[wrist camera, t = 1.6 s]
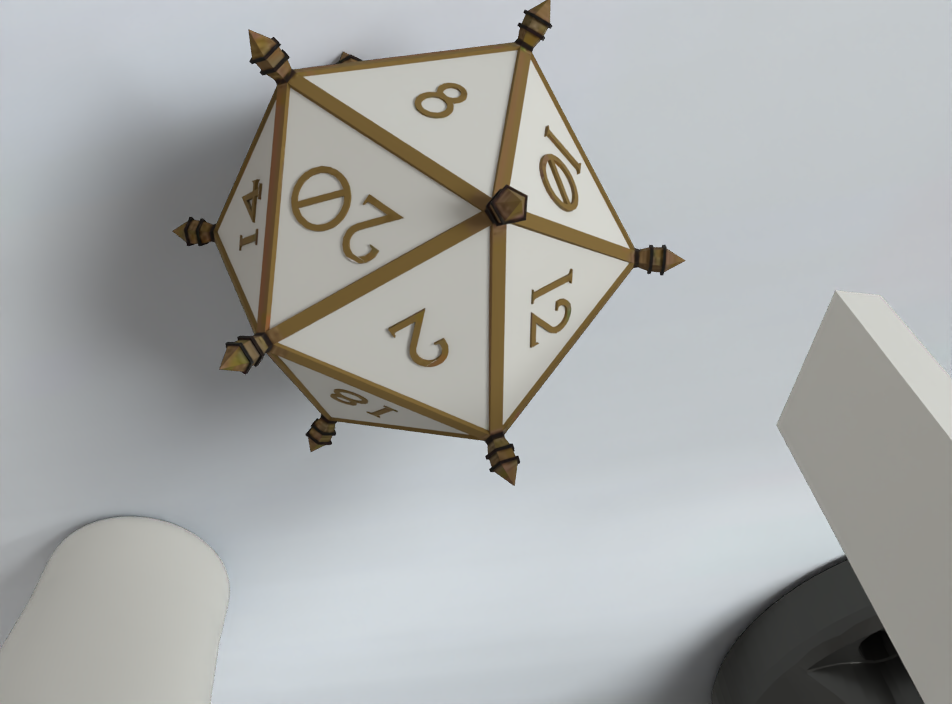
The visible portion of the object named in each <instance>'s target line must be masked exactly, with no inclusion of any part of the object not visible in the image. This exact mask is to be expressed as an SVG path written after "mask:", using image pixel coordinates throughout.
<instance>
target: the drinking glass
mask: <svg viewBox="0 0 952 704" xmlns="http://www.w3.org/2000/svg"><path fill="white" fill-rule="evenodd" d="M229 597H230V584H229V578H228V574H227V571H226V569H225V566H224V564H223V562H222V561H221V559H220V558H219V556H218V555H217V553H216V552H215V551H214V550H213V549H212V548H211V547H210V546H209V545H208V544H207V543H206V542H205V541H203V540H202V539H201V538H199V537H198V536H197V535H195V534H193V533H192V532H190V531H188V530H186V529H184V528H182V527H180V526H177V525H175V524H172V523H169V522H166V521H162V520H158V519H153V518H147V517H134V516H126V517H114V518H108V519H103V520H99V521H96V522H93V523H90V524H88V525H86V526H84V527H82V528H80V529H78V530H76V531H75V532H73V533H72V534H71V535H69V536H68V537H67V538H66V539H64V540H63V541H62V542H61V543H60V544H59V546H58V547H57V548H56V550H55V551H54V552H53V554H52V556H51V557H50V559H49V561H48V563H47V565H46V567H45V569H44V571H43V573H42V575H41V577H40V579H39V581H38V583H37V585H36V587H35V589H34V591H33V594H32V596H31V598H30V600H29V601H28V603H27V605H26V607H25V608H24V610H23V612H22V613H21V615H20V617H19V618H18V620H17V622H16V624H15V625H14V627H13V629H12V630H11V632H10V634H9V635H8V637H7V639H6V640H5V642H4V644H3V645H2V647H1V649H0V704H211V697H212V690H213V683H214V676H215V670H216V663H217V656H218V649H219V643H220V638H221V634H222V630H223V626H224V621H225V617H226V613H227V608H228V604H229Z"/></svg>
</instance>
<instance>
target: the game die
mask: <svg viewBox="0 0 952 704" xmlns="http://www.w3.org/2000/svg"><path fill="white" fill-rule="evenodd" d="M523 13H525V14H526V15H525V17H524V20H523V22H522V24H521V23H519V24H518V26H519V27H520V30H519V36H518V39H517V40H516V41H515V42H513V43H505V44H497V45H488V46H480V47H472V48H464V49H456V50H448V51H440V52H431V53H423V54H415V55H407V56H399V57H391V58H383V59H374V60H366V61H362V60H361V59H359V58H357V57H355V56H352V55H349V54H347V53H345V52H344V51H343V54H342V56H341V58H340V61H339V62H337V63H336V64H334V65H326V66H317V67H309V68H301V69H291V67H290V64H289V62H288V59H289V58H290V57H289V56H288V55H287V53H286V52H285V51H284V50H283V49H282V50H281V49H280V48H279V46H280V45H281V44H280V43H279V42H278V41H277V40H276V39H275V38H274V37H273V38H271V39H270V38H268V37H266V36H263V35H261V34H259V33H256V32H254V31H251V30H249V29H248V30H249V38H250V46H251V53H252V58H251V60H250V63H251V64H254V63H256V64H257V65H258V67H259V68H260V69H261V71H260V73H261V74H262V75H268V76H270V77H271V78H273V79H274V80H275V81H276V83H277V87H276V89H275V91H274V94H273V96H272V98H271V101H270V103H269V105H268V107H267V110H266V112H265V114H264V117H263V119H262V121H261V123H260V126H259V128H258V130H257V133H256V135H255V137H254V139H253V142H252V144H251V146H250V149H249V151H248V153H247V155H246V158H245V160H244V162H243V165H242V167H241V169H240V172H239V174H238V176H237V178H236V181H235V183H234V185H233V188H232V190H231V192H230V194H229V197H228V199H227V201H226V204H225V206H224V208H223V210H222V213H221V215H220V217H219V220H218V222H217V224H214V225H212V224H210V223H207V222H206V221H205V220H204V219H202V218H201V219H200V221H197V220H194V219H193V218H192V217H189V219H188V221H187V222H186V223H184V224H183V225H181V226H180V227H178V228H176V229H175V230H173V232H174V233H175V234H176V235H178V236H179V237H180V238H182V239H183V240H184V241H185V242H186V243H187V246H191V245H194V244H198V245H199V246H202V245H205V244H208V243H209V242H211V241H212V242H215V243H216V246H217V248H218V250H219V253H220V255H221V257H222V260H223V262H224V264H225V267H226V269H227V271H228V274H229V276H230V278H231V281H232V283H233V285H234V288H235V290H236V292H237V295H238V297H239V299H240V302H241V304H242V306H243V309H244V311H245V313H246V316H247V318H248V320H249V323H250V325H251V327H252V330H253V332H254V334H255V335H254V336H239V337H237V338H238V341H236V342H227V343H225V344H226V352H225V355H224V358H223V360H222V363H221V366H220V370H231V371H241V372H242V373H244V374H245V375H246V374H247V373H248V372H249V370H250V368H251V367H252V366H253V365H254V366H255V367H256V366H258V365H259V363H260V362H261V360H262V358H263V357H264V355H265V353H267V354H268V356H269V357H270V358H271V359H272V360H273V361H274V362H275V363H276V364H277V365H278V367H279V368H280V369H281V370H282V371H283V372H284V373H285V374H286V375H287V377H288V378H289V379H290V380H291V381H292V382H293V383H294V384H295V385H296V386H297V388H298V389H299V390H300V391H301V392H302V393H303V394H304V395H305V396H306V397H307V399H308V400H309V401H310V402H311V403H312V404H313V405H314V406H315V407H316V408H317V410H318V411H319V412H320V413H321V418H320V419H318V418H317V419H316V420H315V421H314V422H313V423H312V425H311V429H310V430H309V431H308V432H307V433H306V436H307V437H308V439H309V445H310V451H311V452H312V451H314V450H316V449H318V448H320V447H322V446H325V445H331V444H332V442H331V438H332V436H335V435H336V432H335V430H334V429H335V423H336V422H337V421H338V422H346V423H353V424H361V425H369V426H376V427H384V428H391V429H399V430H406V431H414V432H422V433H429V434H437V435H444V436H452V437H460V438H467V439H475V440H482V441H485V442H486V443H487V445H488V455H486V456H485V457H486V459H489V460H490V463H491V466H492V467H491V468H490V469H489V470H490V472H495V473H497V474H498V475H500V476H501V477H502V478H504V479H505V480H507V481H508V482H509V483H511V484H512V485H514V486H515V479H516V471H517V464H519V463H520V460H519V457H518V456H515V454H514V446H513V444H509V443H508V441H507V440H506V439H505V437H504V434H505V433H506V432H507V430H508V429H509V428H510V427H511V425H512V424H513V423H514V421H515V420H516V419H517V418H518V416H519V415H520V414H521V412H522V411H523V410H524V408H525V407H526V406H527V405H528V403H529V402H530V401H531V399H532V398H533V397H534V396H535V394H536V393H537V392H538V390H539V389H540V388H541V387H542V385H543V384H544V383H545V381H546V380H547V379H548V377H549V376H550V375H551V374H552V372H553V371H554V370H555V368H556V367H557V366H558V365H559V363H560V362H561V361H562V359H563V358H564V357H565V355H566V354H567V353H568V352H569V350H570V349H571V348H572V346H573V345H574V344H575V343H576V341H577V340H578V339H579V337H580V336H581V335H582V333H583V332H584V331H585V330H586V328H587V327H588V326H589V324H590V323H591V322H592V321H593V319H594V318H595V317H596V315H597V314H598V313H599V312H600V310H601V309H602V308H603V306H604V305H605V304H606V302H607V301H608V300H609V299H610V297H611V296H612V295H613V293H614V292H615V291H616V290H617V288H618V287H619V286H620V284H621V283H622V282H623V280H624V279H625V278H626V277H627V275H628V274H629V273H630V271H631V270H632V269H633V268H636V267H639V268H641V269H644V270H647V274H651V271H652V272H660V275H663V274H664V272H665V271H667V270H669V269H671V268H673V267H675V266H677V265H678V264H680V263H682V262H684V261H685V260H684V259H682V258H681V257H679V256H677V255H676V254H674V253H673V252H671V251H670V250H668V249H667V248H666V246H665V245H662V247H653V245H649V248H645V249H640V250H639V249H636V248H634V246H633V244H632V242H631V240H630V238H629V236H628V234H627V232H626V231H625V229H624V227H623V225H622V223H621V221H620V219H619V217H618V215H617V213H616V212H615V210H614V208H613V206H612V204H611V202H610V200H609V198H608V196H607V194H606V192H605V191H604V189H603V187H602V185H601V183H600V181H599V179H598V177H597V175H596V173H595V172H594V170H593V168H592V166H591V164H590V162H589V160H588V158H587V156H586V154H585V153H584V151H583V149H582V147H581V145H580V143H579V141H578V139H577V137H576V135H575V133H574V132H573V130H572V128H571V126H570V124H569V122H568V120H567V118H566V116H565V114H564V113H563V111H562V109H561V107H560V105H559V103H558V101H557V99H556V97H555V95H554V94H553V92H552V90H551V88H550V86H549V84H548V82H547V80H546V78H545V76H544V75H543V73H542V71H541V69H540V67H539V65H538V63H537V61H536V59H535V57H534V55H533V54H532V51H533V48H534V47H535V46H536V45H537V44H538V42H539V41H540V40H543V41H544V39H545V37H544V34H545V32H546V31H547V29H548V28H550V29H551V27H552V25H551V24H550V0H546V1H544V2H542V3H541V4H539V5H537V6H536V7H534V8H532V9H530V10H529V11H527V10H524V12H523Z"/></svg>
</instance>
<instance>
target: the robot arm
mask: <svg viewBox="0 0 952 704" xmlns="http://www.w3.org/2000/svg"><path fill="white" fill-rule="evenodd" d="M777 427H778V429H779V431H780V433H781V435H782V436H783V438H784V440H785V442H786V444H787V446H788V448H789V450H790V451H791V453H792V455H793V457H794V459H795V461H796V463H797V465H798V467H799V468H800V470H801V472H802V474H803V476H804V478H805V480H806V482H807V483H808V485H809V487H810V489H811V491H812V493H813V495H814V497H815V498H816V500H817V502H818V504H819V506H820V508H821V510H822V512H823V514H824V515H825V517H826V519H827V521H828V523H829V525H830V527H831V529H832V530H833V532H834V534H835V536H836V538H837V540H838V542H839V544H840V545H841V547H842V549H843V551H844V553H845V555H846V557H847V559H848V560H847V561H844V562H842V563H840V564H838V565H836V566H834V567H832V568H830V569H828V570H826V571H824V572H822V573H820V574H818V575H817V576H815V577H813V578H811V579H809V580H808V581H806V582H805V583H803V584H801V585H800V586H798V587H796V588H795V589H794V590H792V591H791V592H789V593H788V594H786V595H785V596H783V597H782V598H781V599H779V600H778V601H777V602H776V603H774V604H773V605H772V606H770V607H769V608H768V609H767V610H766V611H765V612H764V613H762V614H761V615H760V616H759V617H758V618H757V619H756V620H755V621H754V622H753V623H752V624H751V625H750V626H749V627H748V628H747V629H746V630H745V632H744V633H743V634H742V635H741V636H740V637H739V639H738V640H737V641H736V643H735V644H734V645H733V647H732V648H731V650H730V651H729V653H728V654H727V656H726V657H725V659H724V661H723V663H722V665H721V667H720V669H719V672H718V674H717V677H716V680H715V683H714V687H713V693H712V702H711V704H952V378H951V377H950V376H949V375H948V374H947V372H946V371H945V370H944V369H943V368H942V367H941V365H940V364H939V363H938V362H937V361H936V360H935V358H934V357H933V356H932V355H931V354H930V353H929V351H928V350H927V349H926V348H925V347H924V345H923V344H922V343H921V342H920V341H919V340H918V338H917V337H916V336H915V335H914V334H913V333H912V331H911V330H910V329H909V328H908V327H907V326H906V324H905V323H904V322H903V321H902V320H901V319H900V317H899V316H898V315H897V314H896V313H895V311H894V310H893V309H892V308H891V307H890V306H889V304H888V303H887V302H886V301H885V300H884V299H883V297H882V296H881V295H874V294H865V293H855V292H845V291H836V290H835V293H834V295H833V297H832V299H831V302H830V304H829V306H828V309H827V311H826V313H825V315H824V318H823V320H822V322H821V325H820V327H819V329H818V331H817V334H816V336H815V338H814V341H813V343H812V345H811V347H810V350H809V352H808V354H807V357H806V359H805V361H804V363H803V366H802V368H801V370H800V373H799V375H798V377H797V379H796V382H795V384H794V386H793V388H792V391H791V393H790V395H789V398H788V400H787V402H786V404H785V407H784V409H783V411H782V414H781V416H780V418H779V420H778V423H777Z"/></svg>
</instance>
